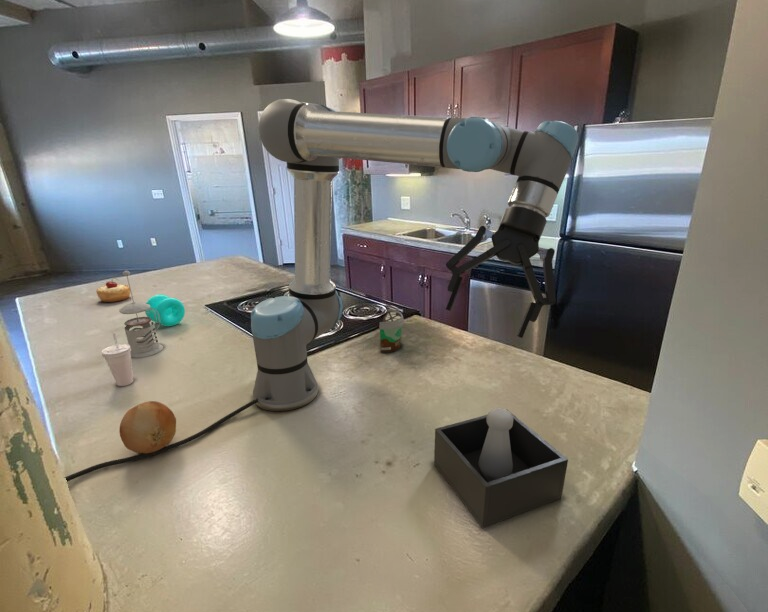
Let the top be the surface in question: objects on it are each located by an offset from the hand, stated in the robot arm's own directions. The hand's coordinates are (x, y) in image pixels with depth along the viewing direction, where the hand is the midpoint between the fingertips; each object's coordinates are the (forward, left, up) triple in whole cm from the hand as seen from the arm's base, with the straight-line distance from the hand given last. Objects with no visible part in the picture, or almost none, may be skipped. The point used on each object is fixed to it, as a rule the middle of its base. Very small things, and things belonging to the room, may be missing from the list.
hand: (483, 323), depth 76 cm
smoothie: (-71, +55, -25) cm, 93 cm away
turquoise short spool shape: (-64, +98, -25) cm, 120 cm away
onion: (-61, +22, -25) cm, 69 cm away
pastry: (-87, +139, -25) cm, 166 cm away
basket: (-4, -12, -25) cm, 28 cm away
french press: (-68, +76, -25) cm, 105 cm away
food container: (+2, +47, -25) cm, 53 cm away
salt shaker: (-4, -12, -24) cm, 27 cm away
